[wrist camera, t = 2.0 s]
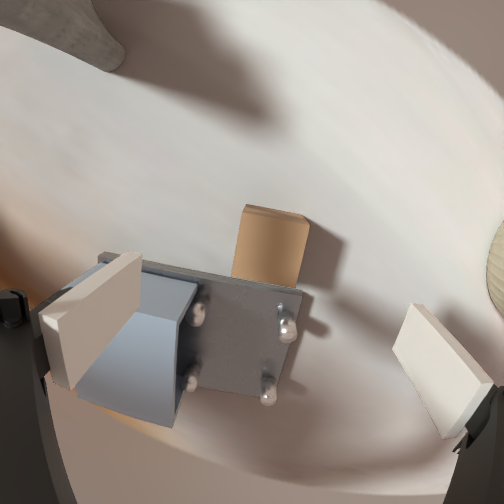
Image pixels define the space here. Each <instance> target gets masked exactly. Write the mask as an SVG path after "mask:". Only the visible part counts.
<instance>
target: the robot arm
mask: <svg viewBox="0 0 504 504" xmlns="http://www.w3.org/2000/svg"><path fill="white" fill-rule="evenodd" d="M141 268H142V254H140V253H136V252H131V251H127V252H125V253H124V254H122V255H121V256H119V257H118V258H116V259H115V260H113V261H112V262H110V263H109V264H107V265H106V266H104V267H103V268H101V269H100V270H98V271H97V272H95V273H94V274H92V275H91V276H89V277H88V278H86V279H85V280H84V281H82V282H81V283H79V284H78V285H76V286H75V287H68V288H65V289H62V290H60V291H58V292H57V293H55V294H54V295H52V297H50V298H48V299H47V300H46V302H45V301H44V302H43V303H41V304H40V305H38V306H37V307H35V308H34V309H33V310H31V311H30V312H29V306H28V300H27V295H26V293H25V292H23V291H22V290H18V289H5V290H1V291H0V504H77V501H76V499H75V496H74V493H73V491H72V488H71V485H70V482H69V479H68V476H67V473H66V470H65V467H64V464H63V460H62V457H61V453H60V449H59V446H58V442H57V438H56V434H55V430H54V425H53V420H52V416H51V411H50V405H49V400H48V393H47V387H46V382H45V378H44V376H45V375H46V374H47V372H48V371H49V370H50V372H51V376H52V380H53V383H55V384H57V385H59V386H61V387H64V388H66V389H68V390H70V391H71V390H72V389H73V388H74V386H75V385H76V384H77V382H78V381H79V380H80V379H81V377H82V376H83V375H84V374H85V372H86V371H87V370H88V369H89V367H90V366H91V365H92V364H93V362H94V361H95V360H96V359H97V357H98V356H99V355H100V354H101V353H102V351H103V350H104V349H105V348H106V346H107V345H108V344H109V343H110V342H111V340H112V339H113V338H114V337H115V336H116V334H117V333H118V332H119V331H120V330H121V328H122V327H123V326H124V325H125V324H126V322H127V321H128V320H129V319H130V318H131V317H132V315H133V314H134V313H135V312H136V311H137V310H138V308H139V307H140V291H141ZM392 350H393V352H394V353H395V355H396V357H397V358H398V360H399V362H400V363H401V365H402V367H403V368H404V370H405V372H406V373H407V375H408V377H409V379H410V380H411V382H412V384H413V386H414V387H415V389H416V391H417V393H418V394H419V396H420V398H421V400H422V402H423V403H424V405H425V407H426V409H427V411H428V413H429V414H430V416H431V418H432V420H433V422H434V424H435V426H436V428H437V430H438V431H439V433H440V435H441V437H442V439H443V440H444V439H449V438H455V437H457V436H458V434H459V433H460V432H461V430H462V429H463V428H464V426H465V427H466V428H467V430H468V432H467V433H466V435H465V436H464V437H463V438H462V440H461V441H460V442H459V443H458V444H457V446H456V447H455V448H454V450H453V451H452V452H455V451H456V450H457V449H459V448H460V451H459V452H458V453H457V454H459V456H458V459H457V463H456V466H455V470H454V473H453V476H452V479H451V482H450V485H449V488H448V491H447V494H446V497H445V499H444V502H443V504H504V386H500V387H499V388H497V387H496V385H495V384H494V382H493V381H492V379H491V378H490V377H489V376H488V375H487V373H486V372H485V371H484V370H483V369H482V368H481V366H480V365H479V364H478V363H477V362H476V361H475V360H474V358H473V357H472V356H471V355H470V354H469V353H468V352H467V351H466V350H465V348H464V347H463V346H462V345H461V344H460V343H459V342H458V341H457V340H456V339H455V338H454V337H453V335H452V334H451V333H450V332H449V331H448V330H447V329H446V328H445V327H444V326H443V325H442V324H441V323H440V322H439V321H438V320H437V319H436V318H435V317H434V316H433V315H432V314H431V312H430V311H429V310H428V309H427V308H426V307H425V306H424V305H422V304H415V303H411V304H410V307H409V310H408V312H407V315H406V317H405V320H404V322H403V325H402V327H401V330H400V332H399V334H398V337H397V339H396V341H395V344H394V346H393V348H392Z"/></svg>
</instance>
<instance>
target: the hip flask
mask: <svg viewBox="0 0 504 504" xmlns="http://www.w3.org/2000/svg"><path fill="white" fill-rule="evenodd" d="M0 26H3V27H6V28H8V29H11V30H14V31H16V32H19V33H21V34H24V35H26V36H29V37H31V38H34V39H36V40H38V41H41V42H43V43H45V44H48V45H50V46H52V47H54V48H57V49H59V50H61V51H63V52H65V53H68V54H70V55H72V56H74V57H76V58H78V59H80V60H82V61H84V62H86V63H88V64H90V65H93V66H95V67H97V68H98V69H100V70H102V71H105V72H110V71H113V70H115V69H117V68H118V67H119V66H120V65H121V64H122V63H123V61H124V59H125V56H126V51H125V48H124V47H123V46H122V45H121V44H120V43H118V42H117V41H116V40H115V39H114V38H113V36H112V35H111V34H110V33H109V32H108V30H107V29H106V28H105V26H104V25H103V23H102V22H101V20H100V18H99V16H98V15H97V13H96V10H95V8H94V6H93V3H92V0H0Z"/></svg>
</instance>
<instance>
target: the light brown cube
mask: <svg viewBox="0 0 504 504" xmlns="http://www.w3.org/2000/svg"><path fill="white" fill-rule="evenodd" d="M309 228H310V225H309V223H308V222H307V221H306V219H305V218H304V217H303V216H302V215H300V214H295V213H290V212H285V211H280V210H275V209H270V208H265V207H259V206H254V205H248V204H246V206H245V208H244V210H243V212H242V216H241V222H240V228H239V233H238V239H237V245H236V251H235V256H234V262H233V268H232V274H231V277H236V278H241V279H247V280H252V281H257V282H263V283H268V284H274V285H280V286H285V287H291V288H295V287H296V283H297V279H298V275H299V271H300V267H301V262H302V258H303V254H304V250H305V245H306V241H307V237H308V232H309Z"/></svg>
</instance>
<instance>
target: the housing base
mask: <svg viewBox="0 0 504 504" xmlns="http://www.w3.org/2000/svg"><path fill="white" fill-rule="evenodd" d="M119 256H121V255H118V254H113V253H109V252H103V253H102V254H100V255H98V264H99V263H105V264H109V263H110V262H112V261H113V260H115V259H116V258H118V257H119ZM141 272H144V273H148V274H153V275H157V276H162V277H167V278H171V279H176V280H181V281H186V282H191V283H196V284H198V285H197V292H196V294H195V296H194V298H193V300H192V302H191V304H190V305H189V307H188V309H187V311H186V313H185V315H184V317H183V319H182V321H181V323H180V325H179V332H178V346H177V362H176V375H180V376H183V377H182V380H181V383H180V387H181V389H182V390H184V391H186V392H193V391H195V389H196V386H199V387H203V388H208V389H213V390H218V391H224V392H229V393H235V394H241V395H247V396H254V397H260V402H261V404H262V405H264V406H272V405H274V404H275V403H276V402H277V396H276V387H277V384H278V381H279V377H280V374H281V371H282V368H283V364H284V361H285V358H286V354H287V351H288V348H289V344H290V343H291V342H293V341H295V340H296V338H297V329H296V320H297V316H298V313H299V309H300V305H301V302H302V298H303V295H302V292H301V290H298V289H292V288H286V287H280V286H275V285H269V284H264V283H258V282H253V281H247V280H242V279H236V278H231V277H226V276H220V275H215V274H210V273H205V272H200V271H195V270H190V269H185V268H180V267H175V266H170V265H165V264H160V263H155V262H151V261H146V260H142V268H141Z"/></svg>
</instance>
